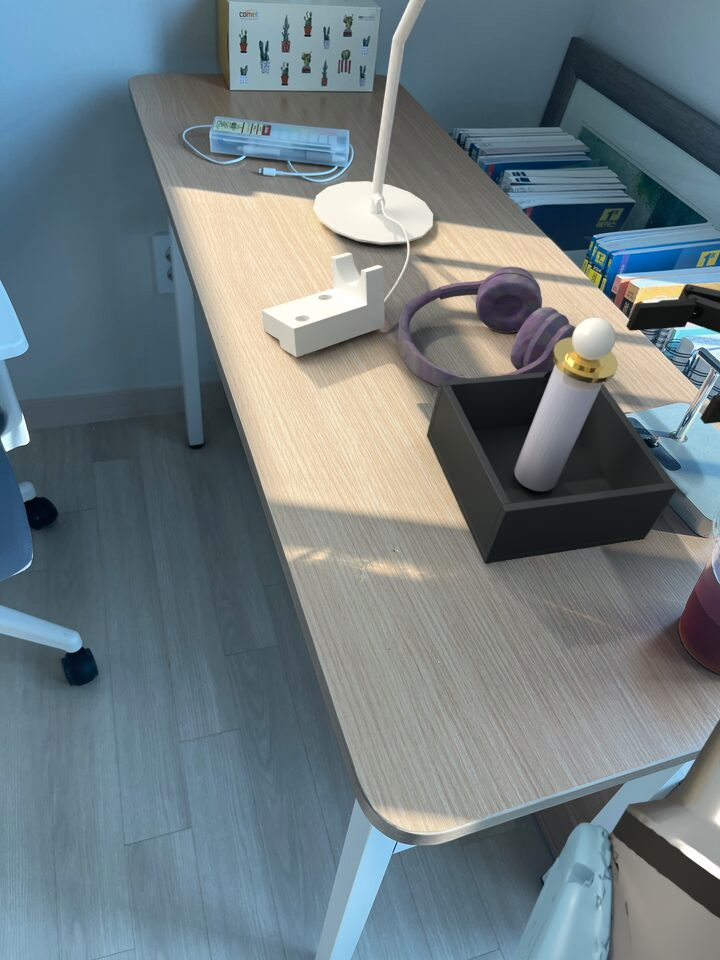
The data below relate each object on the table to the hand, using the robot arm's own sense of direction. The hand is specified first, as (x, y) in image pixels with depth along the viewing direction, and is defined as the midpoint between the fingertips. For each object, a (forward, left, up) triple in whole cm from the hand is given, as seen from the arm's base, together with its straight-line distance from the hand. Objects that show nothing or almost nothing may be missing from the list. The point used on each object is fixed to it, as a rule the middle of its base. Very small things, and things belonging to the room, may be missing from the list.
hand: (668, 360), depth 70 cm
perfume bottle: (0, +9, -15) cm, 18 cm away
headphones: (+22, +7, -16) cm, 28 cm away
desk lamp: (+47, +11, -16) cm, 51 cm away
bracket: (+29, +25, -16) cm, 42 cm away
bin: (0, +9, -16) cm, 18 cm away
